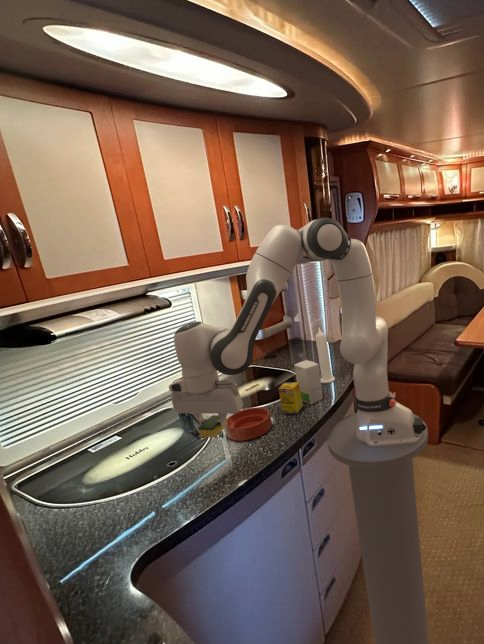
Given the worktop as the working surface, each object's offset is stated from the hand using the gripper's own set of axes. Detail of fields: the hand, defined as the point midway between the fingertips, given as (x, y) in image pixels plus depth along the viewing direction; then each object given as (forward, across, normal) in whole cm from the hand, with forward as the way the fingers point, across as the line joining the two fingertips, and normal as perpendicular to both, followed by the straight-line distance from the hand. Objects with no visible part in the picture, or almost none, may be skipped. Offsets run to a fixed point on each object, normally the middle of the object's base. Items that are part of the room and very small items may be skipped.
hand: (213, 425), depth 107 cm
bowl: (+15, +4, -23) cm, 28 cm away
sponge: (+2, 0, 0) cm, 2 cm away
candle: (+15, -12, -66) cm, 69 cm away
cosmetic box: (+15, -11, -47) cm, 51 cm away
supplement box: (+15, -7, -37) cm, 41 cm away
